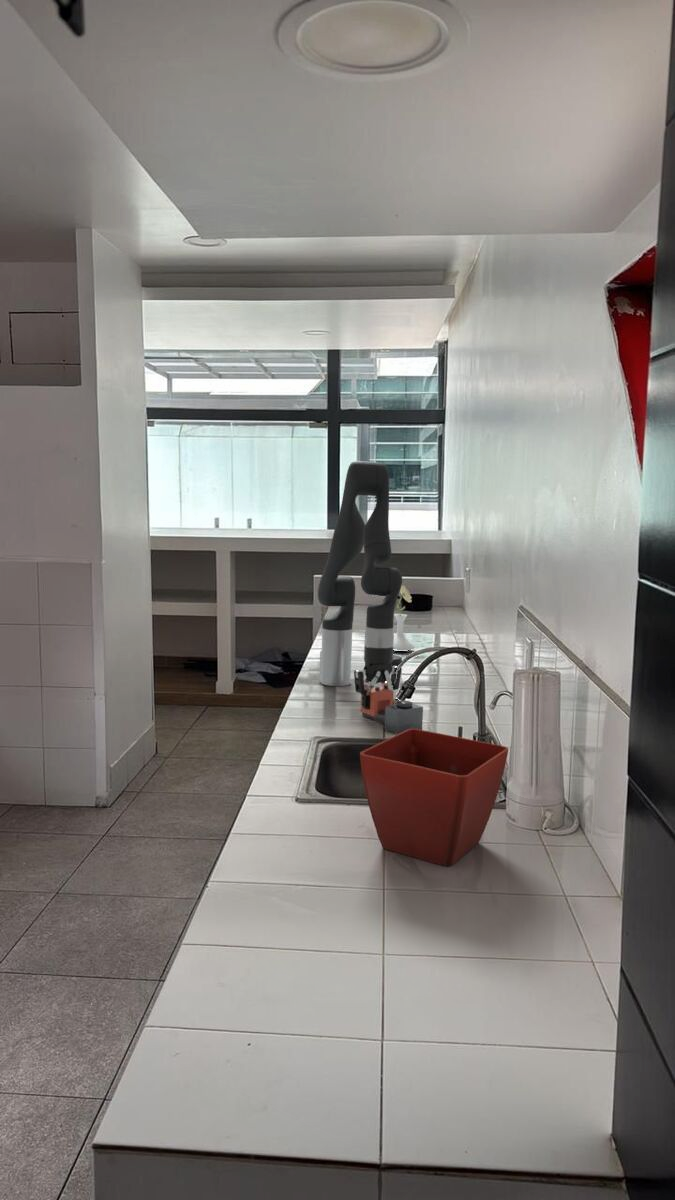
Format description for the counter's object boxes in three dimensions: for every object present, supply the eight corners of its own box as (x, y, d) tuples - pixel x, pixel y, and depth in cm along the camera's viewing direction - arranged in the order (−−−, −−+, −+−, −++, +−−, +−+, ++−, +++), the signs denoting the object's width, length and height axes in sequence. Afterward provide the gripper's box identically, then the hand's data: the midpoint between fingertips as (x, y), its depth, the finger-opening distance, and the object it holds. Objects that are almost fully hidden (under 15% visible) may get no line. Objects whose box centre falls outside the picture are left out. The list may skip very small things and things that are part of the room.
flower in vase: (415, 654, 322) (418, 587, 319) (384, 653, 322) (387, 586, 319) (413, 648, 335) (416, 583, 332) (383, 647, 335) (386, 582, 332)
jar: (382, 702, 247) (383, 660, 245) (365, 696, 254) (367, 655, 252) (407, 699, 252) (409, 658, 250) (390, 693, 259) (391, 653, 257)
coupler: (352, 716, 230) (353, 690, 230) (377, 712, 235) (378, 687, 234) (396, 734, 215) (398, 706, 214) (422, 730, 219) (423, 702, 218)
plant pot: (459, 881, 134) (465, 775, 132) (353, 851, 144) (357, 752, 142) (505, 841, 150) (510, 746, 148) (406, 816, 160) (410, 727, 158)
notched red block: (360, 711, 229) (361, 686, 228) (378, 708, 232) (379, 683, 232) (374, 716, 224) (375, 690, 223) (392, 713, 228) (393, 688, 227)
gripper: (392, 640, 233) (389, 701, 235) (347, 643, 225) (345, 707, 227) (409, 644, 227) (407, 707, 229) (365, 648, 219) (362, 714, 221)
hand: (376, 707), depth 228 cm, fingers closed on notched red block, 6 cm apart
